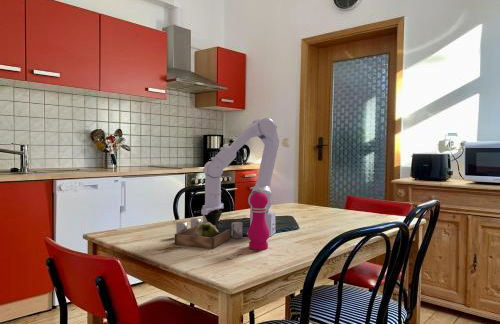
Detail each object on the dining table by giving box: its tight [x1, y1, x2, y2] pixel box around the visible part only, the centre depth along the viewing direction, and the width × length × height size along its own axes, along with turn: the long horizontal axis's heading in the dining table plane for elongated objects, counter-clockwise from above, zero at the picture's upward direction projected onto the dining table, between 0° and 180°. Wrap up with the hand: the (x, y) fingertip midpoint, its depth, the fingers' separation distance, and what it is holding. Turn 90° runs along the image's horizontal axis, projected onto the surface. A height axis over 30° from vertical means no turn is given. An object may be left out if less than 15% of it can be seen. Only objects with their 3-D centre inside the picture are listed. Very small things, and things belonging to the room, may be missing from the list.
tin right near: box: [190, 217, 202, 231], centre depth 147 cm, size 4×4×6 cm
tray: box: [174, 226, 231, 250], centre depth 134 cm, size 15×14×4 cm
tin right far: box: [175, 221, 188, 234], centre depth 140 cm, size 4×4×6 cm
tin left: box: [231, 221, 244, 240], centre depth 140 cm, size 4×4×6 cm
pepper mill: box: [247, 188, 270, 251], centre depth 127 cm, size 7×7×20 cm
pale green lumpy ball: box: [195, 220, 220, 237], centre depth 135 cm, size 9×9×8 cm
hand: (212, 230), depth 140 cm, fingers closed
